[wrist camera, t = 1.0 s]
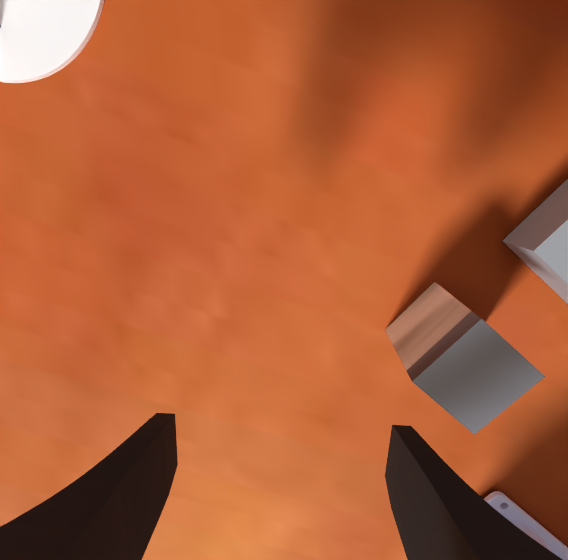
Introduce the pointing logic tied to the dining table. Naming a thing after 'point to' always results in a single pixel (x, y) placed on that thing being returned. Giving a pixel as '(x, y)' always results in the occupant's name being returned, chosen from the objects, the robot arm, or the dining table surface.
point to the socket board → (546, 241)
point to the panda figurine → (43, 35)
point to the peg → (459, 358)
